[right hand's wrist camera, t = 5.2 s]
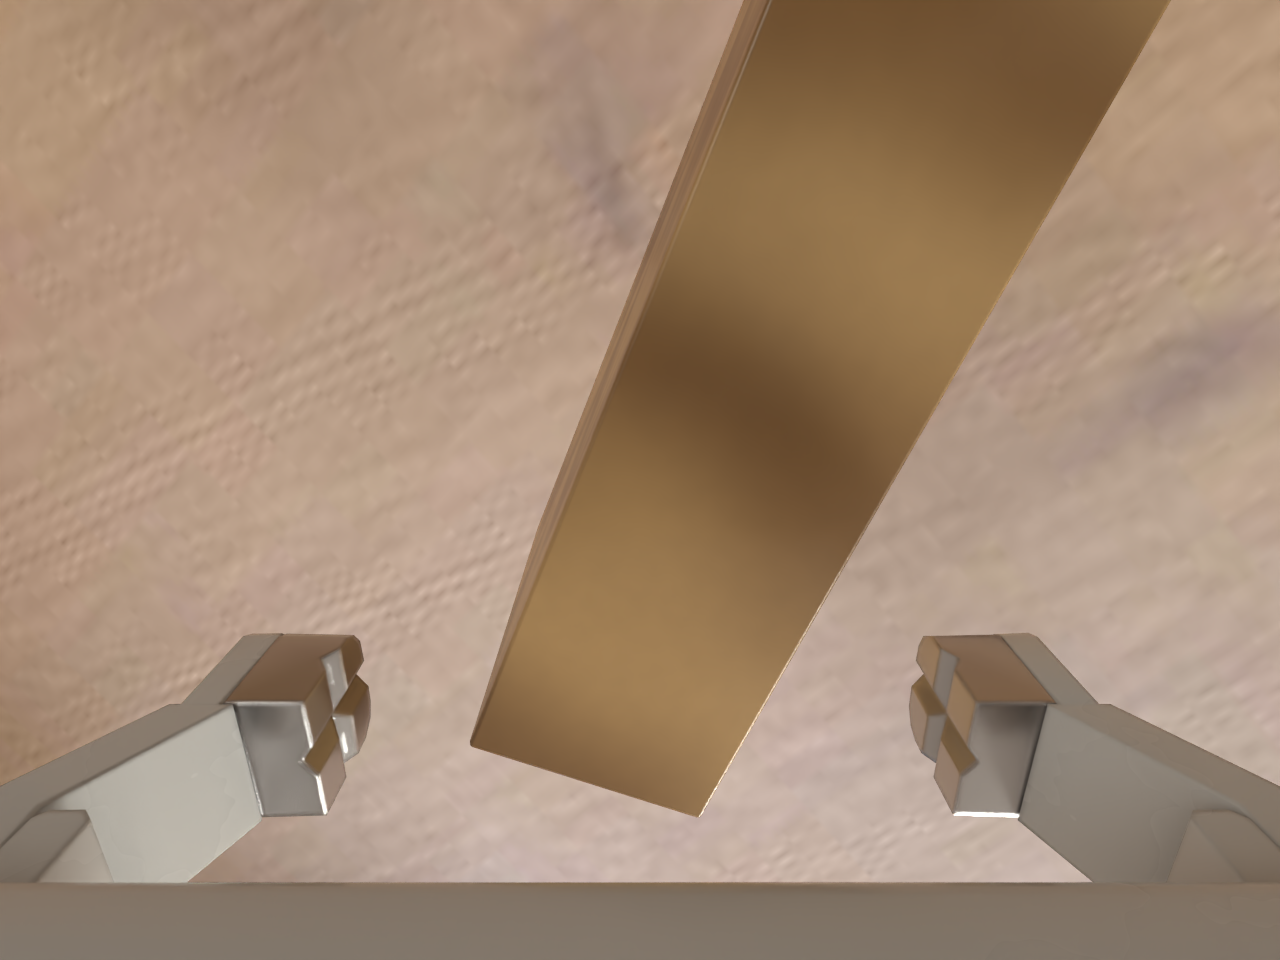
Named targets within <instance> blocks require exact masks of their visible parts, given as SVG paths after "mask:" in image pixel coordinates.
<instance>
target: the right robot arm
mask: <svg viewBox="0 0 1280 960" xmlns="http://www.w3.org/2000/svg"><path fill="white" fill-rule="evenodd" d="M363 661H364V658H363V653H362V648H361V644H360V641H359V640H358V639H357V638H356V637H355V636H354V635H325V634H282V633H272V634H250V635H246V636H243V637H242V638H241V639H240V640H239V641H238V643H237V644H236V645H235V646H234V647H233V648H232V649H231V650H230V651H229V652H228V653H227V655H226V656H225V657H224V658H223V659H222V660H221V661H220V662H219V663H218V664H217V665H216V667H215V668H214V669H213V670H212V671H211V672H210V673H209V674H208V675H207V676H206V677H205V679H204V680H203V681H202V682H201V683H200V684H199V685H198V686H197V687H196V688H195V689H194V691H193V692H192V693H191V694H190V695H189V696H188V697H187V698H186V699H185V700H184V701H183V702H182V704H169V705H167V706H165V707H163V708H161V709H159V710H157V711H154V712H152V713H150V714H148V715H146V716H144V717H142V718H140V719H138V720H136V721H134V722H132V723H130V724H128V725H126V726H123V727H121V728H119V729H117V730H115V731H113V732H111V733H109V734H107V735H105V736H103V737H101V738H99V739H97V740H95V741H93V742H90V743H88V744H86V745H84V746H82V747H80V748H78V749H76V750H74V751H72V752H70V753H68V754H66V755H64V756H62V757H60V758H57V759H55V760H53V761H51V762H49V763H47V764H45V765H43V766H41V767H39V768H37V769H35V770H33V771H31V772H29V773H26V774H24V775H22V776H20V777H18V778H16V779H14V780H12V781H10V782H8V783H6V784H4V785H2V786H0V960H1280V786H1278V785H1276V784H1274V783H1272V782H1270V781H1268V780H1265V779H1263V778H1261V777H1259V776H1257V775H1255V774H1253V773H1251V772H1249V771H1247V770H1245V769H1243V768H1241V767H1239V766H1237V765H1235V764H1233V763H1230V762H1228V761H1226V760H1224V759H1222V758H1220V757H1218V756H1216V755H1214V754H1212V753H1210V752H1208V751H1206V750H1204V749H1202V748H1200V747H1198V746H1195V745H1193V744H1191V743H1189V742H1187V741H1185V740H1183V739H1181V738H1179V737H1177V736H1175V735H1173V734H1171V733H1169V732H1167V731H1165V730H1163V729H1160V728H1158V727H1156V726H1154V725H1152V724H1150V723H1148V722H1146V721H1144V720H1142V719H1140V718H1138V717H1136V716H1134V715H1132V714H1130V713H1128V712H1126V711H1123V710H1121V709H1119V708H1117V707H1115V706H1113V705H1111V704H1098V703H1097V701H1096V700H1095V699H1094V698H1093V697H1092V696H1091V695H1090V694H1089V693H1088V692H1087V691H1086V689H1085V688H1084V687H1083V686H1082V685H1081V684H1080V683H1079V682H1078V681H1077V680H1076V678H1075V677H1074V676H1073V675H1072V674H1071V673H1070V672H1069V671H1068V670H1067V669H1066V668H1065V666H1064V665H1063V664H1062V663H1061V662H1060V661H1059V660H1058V659H1057V658H1056V657H1055V656H1054V654H1053V653H1052V652H1051V651H1050V650H1049V649H1048V648H1047V647H1046V646H1045V645H1044V644H1043V642H1042V641H1041V640H1040V639H1039V638H1038V637H1036V636H1034V635H1032V634H1030V633H1015V634H993V635H956V636H923V638H922V640H921V642H920V644H919V647H918V652H917V658H916V661H917V663H918V665H919V667H920V668H921V670H922V672H923V673H924V674H923V675H922V676H921V677H920V678H919V679H918V680H917V681H916V682H915V683H914V684H913V685H912V687H911V695H910V703H909V711H910V723H911V728H912V731H913V735H914V738H915V741H916V743H917V745H918V747H919V749H920V751H921V753H922V754H924V755H925V756H926V757H928V758H929V759H931V760H932V761H934V762H935V763H936V767H935V772H934V779H935V781H936V783H937V785H938V786H939V788H940V790H941V792H942V794H943V796H944V798H945V800H946V802H947V804H948V806H949V808H950V810H951V812H952V813H953V815H961V816H997V817H1018V821H1020V822H1021V823H1022V824H1023V825H1024V826H1026V827H1027V828H1028V829H1029V830H1031V831H1032V832H1033V833H1034V834H1035V835H1037V836H1038V837H1039V838H1040V839H1041V840H1043V841H1044V842H1045V843H1046V844H1047V845H1049V846H1050V847H1051V848H1052V849H1054V850H1055V851H1056V852H1057V853H1058V854H1060V855H1061V856H1062V857H1063V858H1064V859H1066V860H1067V861H1068V862H1069V863H1070V864H1072V865H1073V866H1074V867H1075V868H1077V869H1078V870H1079V871H1080V872H1081V873H1083V874H1084V875H1085V876H1086V877H1087V878H1089V879H1090V880H1091V881H1092V882H1082V883H863V882H705V883H187V882H188V881H189V880H190V879H192V878H193V877H194V876H195V875H196V874H198V873H199V872H200V871H201V870H202V869H204V868H205V867H206V866H207V865H209V864H210V863H211V862H212V861H213V860H215V859H216V858H217V857H218V856H219V855H221V854H222V853H223V852H224V851H226V850H227V849H228V848H229V847H230V846H232V845H233V844H234V843H235V842H236V841H238V840H239V839H240V838H241V837H243V836H244V835H245V834H246V833H247V832H249V831H250V830H251V829H252V828H253V827H255V826H256V825H257V824H258V823H260V822H261V821H262V818H261V817H282V816H317V815H327V814H328V812H329V810H330V808H331V806H332V804H333V802H334V800H335V798H336V796H337V794H338V792H339V790H340V788H341V786H342V785H343V783H344V781H345V779H346V772H345V767H344V763H345V762H346V761H348V760H349V759H351V758H352V757H354V756H355V755H356V754H358V753H359V751H360V749H361V747H362V745H363V743H364V741H365V739H366V735H367V731H368V726H369V722H370V712H371V700H370V694H369V687H368V685H367V684H366V683H365V682H364V681H363V680H362V679H361V678H360V677H359V676H358V675H357V674H356V673H357V672H358V670H359V668H360V667H361V665H362V663H363Z"/></svg>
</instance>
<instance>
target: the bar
mask: <svg viewBox="0 0 1280 960" xmlns="http://www.w3.org/2000/svg"><path fill="white" fill-rule="evenodd" d="M1170 1H1171V0H744V1H743V4H742V6H741V9H740V11H739V14H738V16H737V19H736V21H735V24H734V27H733V29H732V32H731V34H730V37H729V39H728V42H727V45H726V47H725V50H724V52H723V55H722V57H721V60H720V62H719V65H718V68H717V70H716V73H715V75H714V78H713V80H712V83H711V86H710V88H709V91H708V93H707V96H706V98H705V101H704V103H703V106H702V109H701V111H700V114H699V116H698V119H697V121H696V124H695V127H694V129H693V132H692V134H691V137H690V139H689V142H688V144H687V147H686V150H685V152H684V155H683V157H682V160H681V162H680V165H679V168H678V170H677V173H676V175H675V178H674V180H673V183H672V185H671V188H670V191H669V193H668V196H667V198H666V201H665V203H664V206H663V208H662V211H661V214H660V216H659V219H658V221H657V224H656V226H655V229H654V232H653V234H652V237H651V239H650V242H649V244H648V247H647V249H646V252H645V255H644V257H643V260H642V262H641V265H640V267H639V270H638V273H637V275H636V278H635V280H634V283H633V285H632V288H631V290H630V293H629V296H628V298H627V301H626V303H625V306H624V308H623V311H622V314H621V316H620V319H619V321H618V324H617V326H616V329H615V331H614V334H613V337H612V339H611V342H610V344H609V347H608V349H607V352H606V354H605V357H604V360H603V362H602V365H601V367H600V370H599V372H598V375H597V378H596V380H595V383H594V385H593V388H592V390H591V393H590V395H589V398H588V401H587V403H586V406H585V408H584V411H583V413H582V416H581V419H580V421H579V424H578V426H577V429H576V431H575V434H574V436H573V439H572V442H571V444H570V447H569V449H568V452H567V454H566V457H565V460H564V462H563V465H562V467H561V470H560V472H559V475H558V477H557V480H556V483H555V485H554V488H553V490H552V493H551V495H550V498H549V500H548V503H547V506H546V508H545V511H544V513H543V516H542V518H541V521H540V524H539V526H538V529H537V532H536V535H535V538H534V541H533V545H532V548H531V551H530V554H529V557H528V560H527V563H526V567H525V570H524V573H523V576H522V579H521V582H520V585H519V589H518V592H517V595H516V598H515V601H514V604H513V607H512V611H511V614H510V617H509V620H508V623H507V626H506V630H505V633H504V636H503V639H502V642H501V645H500V648H499V652H498V655H497V658H496V661H495V664H494V667H493V670H492V674H491V677H490V680H489V683H488V686H487V689H486V692H485V696H484V699H483V702H482V705H481V708H480V711H479V714H478V718H477V721H476V724H475V727H474V730H473V733H472V737H471V740H470V745H471V746H472V747H475V748H478V749H481V750H484V751H487V752H490V753H494V754H497V755H500V756H503V757H506V758H510V759H513V760H516V761H519V762H522V763H526V764H529V765H532V766H535V767H538V768H541V769H545V770H548V771H551V772H554V773H557V774H561V775H564V776H567V777H570V778H573V779H576V780H580V781H583V782H586V783H589V784H592V785H596V786H599V787H602V788H605V789H608V790H612V791H615V792H618V793H621V794H624V795H627V796H631V797H634V798H637V799H640V800H643V801H647V802H650V803H653V804H656V805H659V806H662V807H666V808H669V809H672V810H675V811H678V812H682V813H685V814H688V815H691V816H694V817H700V816H701V815H702V813H703V811H704V810H705V808H706V806H707V804H708V803H709V801H710V799H711V797H712V796H713V794H714V792H715V791H716V789H717V787H718V785H719V784H720V782H721V780H722V778H723V777H724V775H725V773H726V771H727V770H728V768H729V766H730V765H731V763H732V761H733V759H734V758H735V756H736V754H737V752H738V751H739V749H740V747H741V745H742V744H743V742H744V740H745V738H746V737H747V735H748V733H749V732H750V730H751V728H752V726H753V725H754V723H755V721H756V719H757V718H758V716H759V714H760V712H761V711H762V709H763V707H764V706H765V704H766V702H767V700H768V699H769V697H770V695H771V693H772V692H773V690H774V688H775V686H776V685H777V683H778V681H779V679H780V678H781V676H782V674H783V673H784V671H785V669H786V667H787V666H788V664H789V662H790V660H791V659H792V657H793V655H794V653H795V652H796V650H797V648H798V646H799V645H800V643H801V641H802V640H803V638H804V636H805V634H806V633H807V631H808V629H809V627H810V626H811V624H812V622H813V620H814V619H815V617H816V615H817V614H818V612H819V610H820V608H821V607H822V605H823V603H824V601H825V600H826V598H827V596H828V594H829V593H830V591H831V589H832V587H833V586H834V584H835V582H836V581H837V579H838V577H839V575H840V574H841V572H842V570H843V568H844V567H845V565H846V563H847V561H848V560H849V558H850V556H851V555H852V553H853V551H854V549H855V548H856V546H857V544H858V542H859V541H860V539H861V537H862V535H863V534H864V532H865V530H866V528H867V527H868V525H869V523H870V522H871V520H872V518H873V516H874V515H875V513H876V511H877V509H878V508H879V506H880V504H881V502H882V501H883V499H884V497H885V495H886V494H887V492H888V490H889V489H890V487H891V485H892V483H893V482H894V480H895V478H896V476H897V475H898V473H899V471H900V469H901V468H902V466H903V464H904V463H905V461H906V459H907V457H908V456H909V454H910V452H911V450H912V449H913V447H914V445H915V443H916V442H917V440H918V438H919V436H920V435H921V433H922V431H923V430H924V428H925V426H926V424H927V423H928V421H929V419H930V417H931V416H932V414H933V412H934V410H935V409H936V407H937V405H938V404H939V402H940V400H941V398H942V397H943V395H944V393H945V391H946V390H947V388H948V386H949V384H950V383H951V381H952V379H953V377H954V376H955V374H956V372H957V371H958V369H959V367H960V365H961V364H962V362H963V360H964V358H965V357H966V355H967V353H968V351H969V350H970V348H971V346H972V345H973V343H974V341H975V339H976V338H977V336H978V334H979V332H980V331H981V329H982V327H983V325H984V324H985V322H986V320H987V318H988V317H989V315H990V313H991V312H992V310H993V308H994V306H995V305H996V303H997V301H998V299H999V298H1000V296H1001V294H1002V292H1003V291H1004V289H1005V287H1006V285H1007V284H1008V282H1009V280H1010V279H1011V277H1012V275H1013V273H1014V272H1015V270H1016V268H1017V266H1018V265H1019V263H1020V261H1021V259H1022V258H1023V256H1024V254H1025V253H1026V251H1027V249H1028V247H1029V246H1030V244H1031V242H1032V240H1033V239H1034V237H1035V235H1036V233H1037V232H1038V230H1039V228H1040V226H1041V225H1042V223H1043V221H1044V220H1045V218H1046V216H1047V214H1048V213H1049V211H1050V209H1051V207H1052V206H1053V204H1054V202H1055V200H1056V199H1057V197H1058V195H1059V194H1060V192H1061V190H1062V188H1063V187H1064V185H1065V183H1066V181H1067V180H1068V178H1069V176H1070V174H1071V173H1072V171H1073V169H1074V167H1075V166H1076V164H1077V162H1078V161H1079V159H1080V157H1081V155H1082V154H1083V152H1084V150H1085V148H1086V147H1087V145H1088V143H1089V141H1090V140H1091V138H1092V136H1093V134H1094V133H1095V131H1096V129H1097V128H1098V126H1099V124H1100V122H1101V121H1102V119H1103V117H1104V115H1105V114H1106V112H1107V110H1108V108H1109V107H1110V105H1111V103H1112V102H1113V100H1114V98H1115V96H1116V95H1117V93H1118V91H1119V89H1120V88H1121V86H1122V84H1123V82H1124V81H1125V79H1126V77H1127V75H1128V74H1129V72H1130V70H1131V69H1132V67H1133V65H1134V63H1135V62H1136V60H1137V58H1138V56H1139V55H1140V53H1141V51H1142V49H1143V48H1144V46H1145V44H1146V43H1147V41H1148V39H1149V37H1150V36H1151V34H1152V32H1153V30H1154V29H1155V27H1156V25H1157V23H1158V22H1159V20H1160V18H1161V16H1162V15H1163V13H1164V11H1165V10H1166V8H1167V6H1168V4H1169V3H1170Z"/></svg>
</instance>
